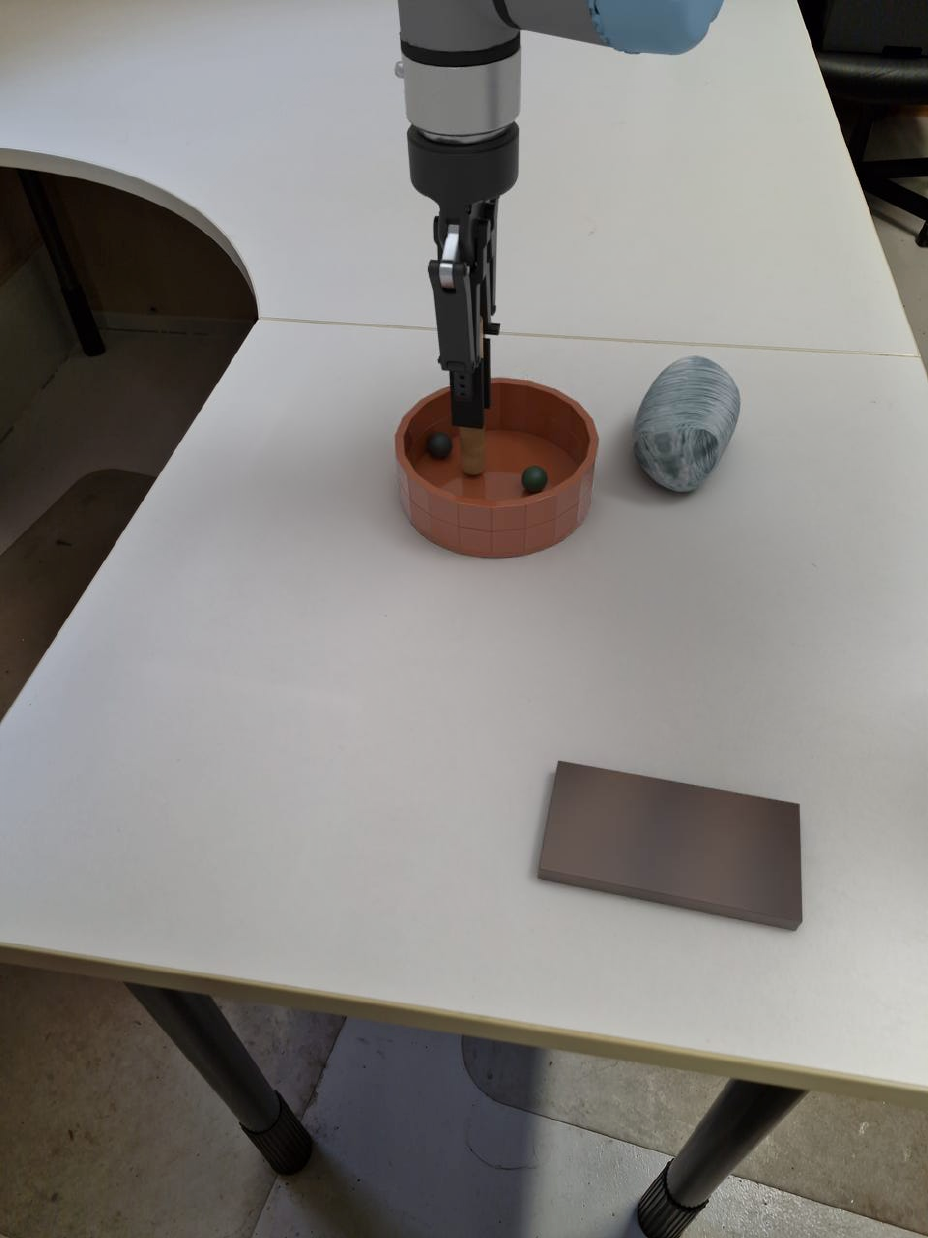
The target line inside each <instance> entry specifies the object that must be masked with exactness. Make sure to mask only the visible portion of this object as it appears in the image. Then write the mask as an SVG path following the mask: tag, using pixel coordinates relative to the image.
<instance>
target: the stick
mask: <svg viewBox="0 0 928 1238" xmlns="http://www.w3.org/2000/svg"><path fill="white" fill-rule="evenodd" d="M480 357H481V358H483V319H482V317H481V316H480ZM460 446H461V467H462V470H463V471H464V472H465V473H467V474H471V475H475V474H479V473H481V472H483V471H484V469H485V424H484V427H483V429H476V428H467V427H460Z"/></svg>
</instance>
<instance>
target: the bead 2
mask: <svg viewBox="0 0 928 1238" xmlns="http://www.w3.org/2000/svg"><path fill="white" fill-rule="evenodd" d="M547 482H548V476H547V473H546V472H545V470H544V469H543V468H541V467H539V466H530V467H528V468H526V469H525V470H524V472H523V473H522V476H521V483H522V485H523V487H524V488H525V489H526V490H527V491H529V492H532V493H537V492H540V491H542V490H543V489H544V488H545V487H546V485H547Z"/></svg>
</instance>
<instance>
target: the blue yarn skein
mask: <svg viewBox="0 0 928 1238" xmlns="http://www.w3.org/2000/svg"><path fill="white" fill-rule="evenodd" d="M740 412H741V395H740V391H739V388H738V386H737V385H736V382H735V381H734V379H733V377H732V376H731V375H730V373H728V372H727V371H726V370H725V369H724V368H723V367H722V366H721V365H720V364H718V363H716V362H715V361H713V360H712V359H710V358H708V357H704V356H700V355H687V356H684V357H681V358H679V359H677V360H675V361H673V362H672V363H671V364H669V365H668V366H666V367H665V368H664V369H663V370H662V371H661V372H660V373H659V374H658V376H656V378H655V379H654V380H653V381H652V383H651V385H650V386H649V387H648V389H647V391H646V392H645V394H644V396H643V398H642V399H641V402H640V405H639V406H638V409H637V412H636V415H635V418H634V422H633V426H632V432H631V447H632V452H633V454H634V456H635V459H636V461H637V462H638V464H639V465H640V466H641V468H642V469H643V470H644V472H645V473H646V474H648V476H649V477H650V478H651V479H652V480H653V481H655V483H657V484H658V485H660V486H662V487H664V488H666V489H668V490H670V491H673V492H675V493H676V492H679V493H680V492H681V493H683V492H684V493H685V492H691V491H694V490H696V489H697V488H698V487H699V486H700V485H702V484H703V483H704V482H705V481H706V480H707V479H708V478H709V477H710V475H711V474H712V473H713V472H714V471H715V469H716V468H717V466H718V465H719V463H720V462H721V460H722V458H723V456H724V454H725V452H726V450H727V448H728V446H729V443H730V441H731V438H732V437H733V435H734V432H735V430H736V427H737V424H738V421H739V416H740Z"/></svg>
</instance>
